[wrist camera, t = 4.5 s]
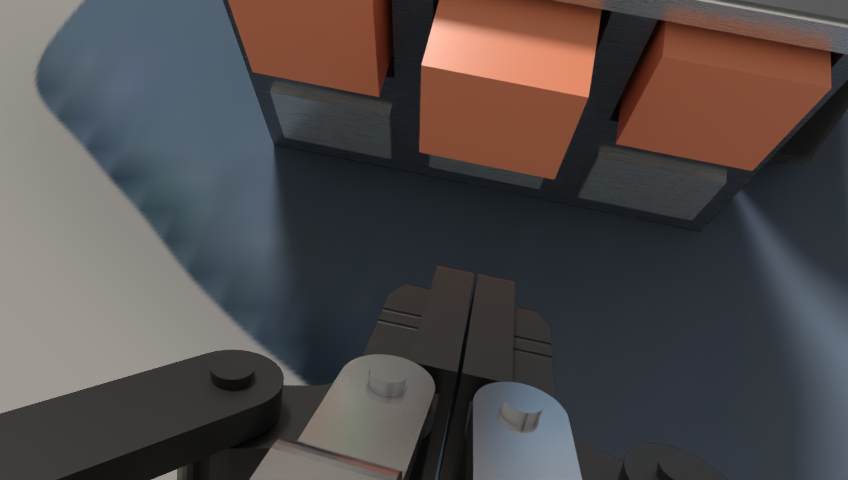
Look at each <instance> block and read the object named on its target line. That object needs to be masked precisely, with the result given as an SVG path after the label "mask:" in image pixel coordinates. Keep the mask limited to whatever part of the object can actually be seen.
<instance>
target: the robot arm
mask: <svg viewBox="0 0 848 480" xmlns="http://www.w3.org/2000/svg"><path fill="white" fill-rule="evenodd" d="M473 279H474V273H472V272H467V271H462V270H457V269H452V268H448V267H443V266H437V268H436V272H435V275H434V278H433V281H432V285H431V288H430V289H426V288H421V287H417V286H412V285H407V284H404V285H403V286H401V287H400V288H398V289H396V290H395V291H393V292H391V293H390V294H389V295H388V298H387V300H386V302H385V305H384V307H383V310H382V312H381V314H380V316H379V318H378V322H377V323H376V325H375V328H374V330H373V332H372V335H371V337H370V339H369V342H368V344H367V346H366V349H365V351H364V353H363V355H362V356H361V357H358V358H355V359H354V360H352V361H350V362H349V363H347V364H346V365H345V366H344V367H343V369H342V370H341V372H340V373H339V375H338V376H337V378H336V380H335V381H334V382H333V383H329V384H324V385H315V386H286V385H285V386H284V385H283V380H284V377H283V373H282V371H281V369H280V367H279V366H278V365H277V364H276V363H275V362H273V361H272V360H271V359H269V358H267V357H265V356H263V355H260V354H257V353H253V352H249V351H243V350H222V351H215V352H211V353H207V354H203V355H200V356H196V357H193V358H189V359H186V360H183V361H179V362H176V363H172V364H169V365H166V366H162V367H159V368H155V369H152V370H148V371H145V372H141V373H138V374H135V375H131V376H128V377H124V378H121V379H118V380H114V381H111V382H107V383H104V384H100V385H97V386H94V387H91V388H87V389H83V390H80V391H77V392H73V393H70V394H66V395H63V396H59V397H56V398H52V399H49V400H46V401H42V402H39V403H35V404H32V405H29V406H25V407H22V408H18V409H15V410H12V411H8V412H5V413H1V414H0V480H151V479H154V478H156V477H158V476H161V475H164V474H166V473H168V472H171V471H173V470H176V469H177V480H434V479H435V474H436V470H437V465H438V460H439V456H440V451H441V446H442V442H443V437H444V433H445V428H446V423H447V419H448V414H449V419H448V425H447V431H446V436H445V442H444V448H443V454H442V459H441V465H440V471H439V477H438V480H727V479H726V478H725V477H723V476H722V475H721V474H720V473H719V472H717V471H716V470H715V469H714V468H712V467H711V466H710V465H708V464H707V463H706V462H704V461H703V460H701V459H699V458H698V457H696V456H694V455H692V454H690V453H688V452H686V451H683V450H681V449H678V448H675V447H671V446H667V445H662V444H643V445H638V446H636V447H634V448H632V449H631V450H630V451H628V453H627V454H626V456H625V459H624V462H623V461H621V460H618V459H616V458H614V457H612V456H609V455H607V454H605V453H603V452H600V451H598V450H596V449H594V448H592V447H590V446H589V445H587V444H585V443H584V442H582V441H581V440H579V439H578V438H577V437H575V436H574V435H573V434H572V431H571V426H570V422H569V418H568V415H567V413H566V411H565V409H564V408H563V407H562V406H561V404H560V403H559V402H557V401H556V399H555V386H554V372H553V359H552V346H551V332H550V327H549V326H548V324H547V323H546V322H545V320H544V319H543V318H542V316H541V315H540V314H539V313H538V312H536V311H531V310H526V309H521V308H517V307H515V281H510V280H506V279H501V278H496V277H491V276H486V275H482V274H478V275H477V279H476V283H475V287H474V292H473V297H472V301H471V306H470V311H469V315H468V320H467V314H468V308H469V302H470V296H471V290H472V285H473ZM466 320H467V325H466ZM465 325H466V329H465ZM464 331H465V334H464ZM463 337H464V339H463ZM452 395H453V396H452ZM451 400H452V402H451ZM450 405H451V408H450ZM449 409H450V413H449Z"/></svg>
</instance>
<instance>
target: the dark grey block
mask: <svg viewBox="0 0 848 480" xmlns="http://www.w3.org/2000/svg"><path fill="white" fill-rule="evenodd" d="M554 1H560V2H565V3H571V4H576V5H582V6H587V7H592V8H598V9H602V11H601V18H600V24H599V31H598V38H597V45H596V51H595V58H594V65H593V71H592V78H591V85H590V92H589V98H588V100H587V103H586V105H585V107H584V110H583V112H582V115H581V117H580V120H579V122H578V124H577V127H576V129H575V132H574V134H573V136H572V139H571V141H570V144H569V146H568V149H567V151H566V153H565V156H564V158H563V161H562V163H561V165H560V168H559V170H558V173H557V175H556V178H555V180H554V179H549V178H544V177H539V176H534V175H529V174H524V173H519V172H514V171H509V170H504V169H499V168H495V167H490V166H485V165H480V164H475V163H470V162H465V161H460V160H455V159H450V158H445V157H440V156H435V155H430V154H425V153H421V152H419V137H420V97H421V64H422V61H423V57H424V54H425V50H426V46H427V43H428V39H429V35H430V32H431V28H432V25H433V21H434V17H435V14H436V10H437V6H438V3H439V0H392V19H393V48H394V50H393V53H392V56H391V60H390V63H389V66H388V70H387V73H386V76H385V80H384V83H383V86H382V90H381V93H380V96H379V97H375V96H370V95H365V94H360V93H355V92H350V91H345V90H340V89H335V88H330V87H325V86H320V85H315V84H310V83H305V82H300V81H295V80H290V79H284V78H279V77H274V76H269V75H264V74H259V73H254V72H252V69H251V66H250V63H249V60H248V57H247V54H246V51H245V48H244V45H243V42H242V40H241V37H240V34H239V31H238V28H237V25H236V22H235V19H234V16H233V13H232V10H231V7H230V5H229V2H228V0H223V2H224V5H225V8H226V11H227V13H228V16H229V19H230V22H231V25H232V28H233V30H234V33H235V36H236V39H237V42H238V45H239V47H240V50H241V53H242V56H243V59H244V62H245V64H246V67H247V70H248V73H249V76H250V79H251V81H252V84H253V87H254V90H255V93H256V96H257V98H258V101H259V104H260V107H261V110H262V113H263V115H264V118H265V121H266V124H267V127H268V130H269V132H270V135H271V138H272V141H273V144H276V145H281V146H286V147H291V148H296V149H301V150H305V151H310V152H315V153H320V154H325V155H330V156H335V157H340V158H344V159H349V160H354V161H359V162H364V163H369V164H374V165H379V166H383V167H388V168H393V169H398V170H403V171H408V172H413V173H418V174H422V175H427V176H432V177H437V178H442V179H447V180H452V181H457V182H461V183H466V184H471V185H476V186H481V187H486V188H491V189H496V190H501V191H505V192H510V193H515V194H520V195H525V196H530V197H535V198H540V199H544V200H549V201H554V202H559V203H564V204H569V205H574V206H579V207H583V208H588V209H593V210H598V211H603V212H608V213H613V214H618V215H622V216H627V217H632V218H637V219H642V220H647V221H652V222H657V223H661V224H666V225H671V226H676V227H681V228H686V229H691V230H696V231H701V230H702V229H703V228H704V227H705V226H706V225H707V224H708V223H709V222H710V221H711V220H712V219H713V217H714V216H715V215H716V214H717V213H718V212H719V211H720V210H721V209H722V208H723V207H724V206H725V205H726V204H727V203H728V202H729V201H730V200H731V199H732V198H733V197H734V196H735V195H736V194H737V193H738V192H739V191H740V190H741V189H742V188H743V187H744V186H745V185H746V184H747V183H748V182H749V180H750V179H751V178H752V177H753V176H754V175H755V174H756V173H757V172H758V171H759V170H760V169H761V168H762V167H763V166H764V165H765V164H766V163H767V162H768V161H769V160H770V159H771V158H772V157H773V156H774V155H775V154H776V153H777V152H778V151H779V150H780V149H781V148H782V147H783V146H784V145H785V143H786V142H787V141H788V140H789V139H790V138H791V137H792V136H793V135H794V134H795V133H796V132H797V131H798V130H799V129H800V128H801V127H802V126H803V125H804V124H805V123H806V122H807V121H808V120H809V119H810V118H811V117H812V116H813V115H814V114H815V113H816V112H817V111H818V110H819V109H820V108H821V107H822V105H823V104H824V103H825V102H826V101H827V100H828V99H829V98H830V97H831V96H832V95H833V94H834V93H835V92H836V91H837V90H838V89H839V88H840V87H841V86H842V85H843V84H844V83H845V82H846V81H847V80H848V0H554ZM658 20H663V21H668V22H674V23H679V24H685V25H690V26H696V27H701V28H706V29H712V30H717V31H723V32H728V33H734V34H739V35H744V36H750V37H755V38H761V39H766V40H771V41H777V42H782V43H788V44H793V45H799V46H804V47H809V48H815V49H820V50H826V51H831V89H830V90H829V91H828V92H827V93H826V94H825V95H824V97H823V98H822V99H821V100H820V101H819V102H818V103H817V104H816V105H815V106H814V107H813V108H812V109H811V110H810V111H809V112H808V113H807V114H806V115H805V116H804V117H803V118H802V120H801V121H800V122H799V123H798V124H797V125H796V126H795V127H794V128H793V129H792V130H791V131H790V132H789V133H788V134H787V135H786V136H785V137H784V138H783V139H782V140H781V142H780V143H779V144H778V145H777V146H776V147H775V148H774V149H773V150H772V151H771V152H770V153H769V154H768V155H767V156H766V157H765V158H764V159H763V160H762V161H761V162H760V164H759V165H758V166H757V167H756V168H755V169H754V170H753V171H750V170H744V169H739V168H734V167H729V166H724V165H719V164H714V163H709V162H704V161H699V160H694V159H689V158H684V157H679V156H674V155H669V154H664V153H659V152H653V151H648V150H643V149H638V148H633V147H628V146H623V145H618V144H616V138H617V130H618V122H619V114H620V106H621V98H622V92H623V90H624V88H625V86H626V84H627V82H628V80H629V78H630V76H631V74H632V72H633V70H634V68H635V66H636V64H637V62H638V60H639V58H640V56H641V53H642V51H643V49H644V47H645V45H646V43H647V41H648V39H649V37H650V35H651V33H652V31H653V29H654V27H655V25H656V23H657V21H658Z"/></svg>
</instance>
